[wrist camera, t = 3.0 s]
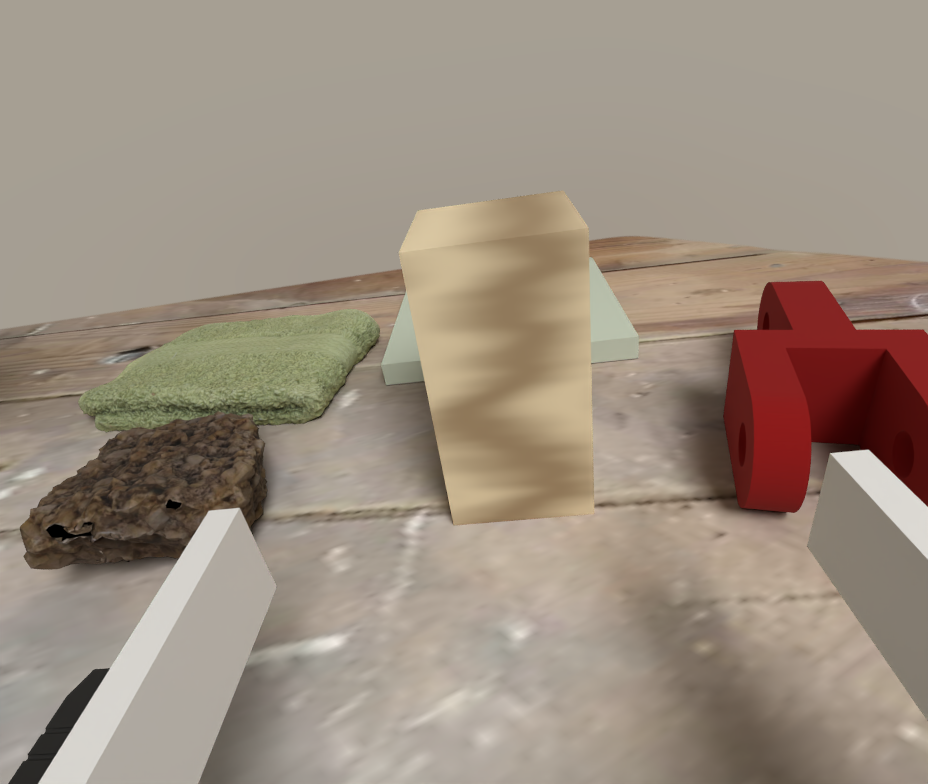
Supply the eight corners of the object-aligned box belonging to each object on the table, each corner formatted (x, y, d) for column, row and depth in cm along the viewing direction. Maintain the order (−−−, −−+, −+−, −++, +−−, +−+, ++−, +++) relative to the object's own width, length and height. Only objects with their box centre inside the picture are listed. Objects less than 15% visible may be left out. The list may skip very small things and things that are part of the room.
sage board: (386, 385, 35) (381, 364, 34) (412, 296, 49) (409, 280, 48) (638, 358, 33) (638, 336, 33) (592, 274, 47) (592, 257, 46)
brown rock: (260, 591, 22) (213, 497, 19) (15, 628, 22) (-64, 540, 19) (309, 431, 32) (283, 355, 29) (141, 457, 32) (100, 384, 29)
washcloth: (196, 348, 46) (181, 313, 45) (389, 339, 42) (380, 301, 40) (76, 439, 35) (51, 398, 34) (320, 439, 31) (305, 392, 30)
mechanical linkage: (971, 559, 19) (1027, 444, 16) (742, 534, 21) (760, 429, 18) (844, 348, 31) (865, 265, 29) (711, 347, 34) (718, 270, 31)
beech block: (453, 525, 23) (398, 252, 17) (458, 442, 28) (417, 210, 22) (594, 514, 23) (588, 227, 17) (573, 431, 28) (563, 190, 22)
